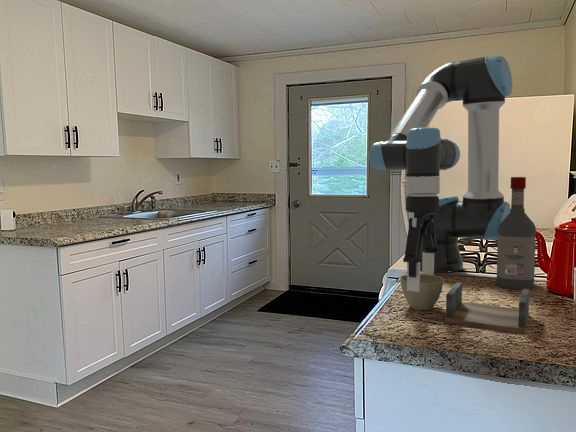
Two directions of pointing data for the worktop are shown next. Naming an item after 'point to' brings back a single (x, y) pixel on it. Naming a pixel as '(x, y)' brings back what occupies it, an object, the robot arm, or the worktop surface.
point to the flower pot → (423, 292)
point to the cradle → (486, 313)
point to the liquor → (516, 243)
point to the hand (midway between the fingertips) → (420, 284)
